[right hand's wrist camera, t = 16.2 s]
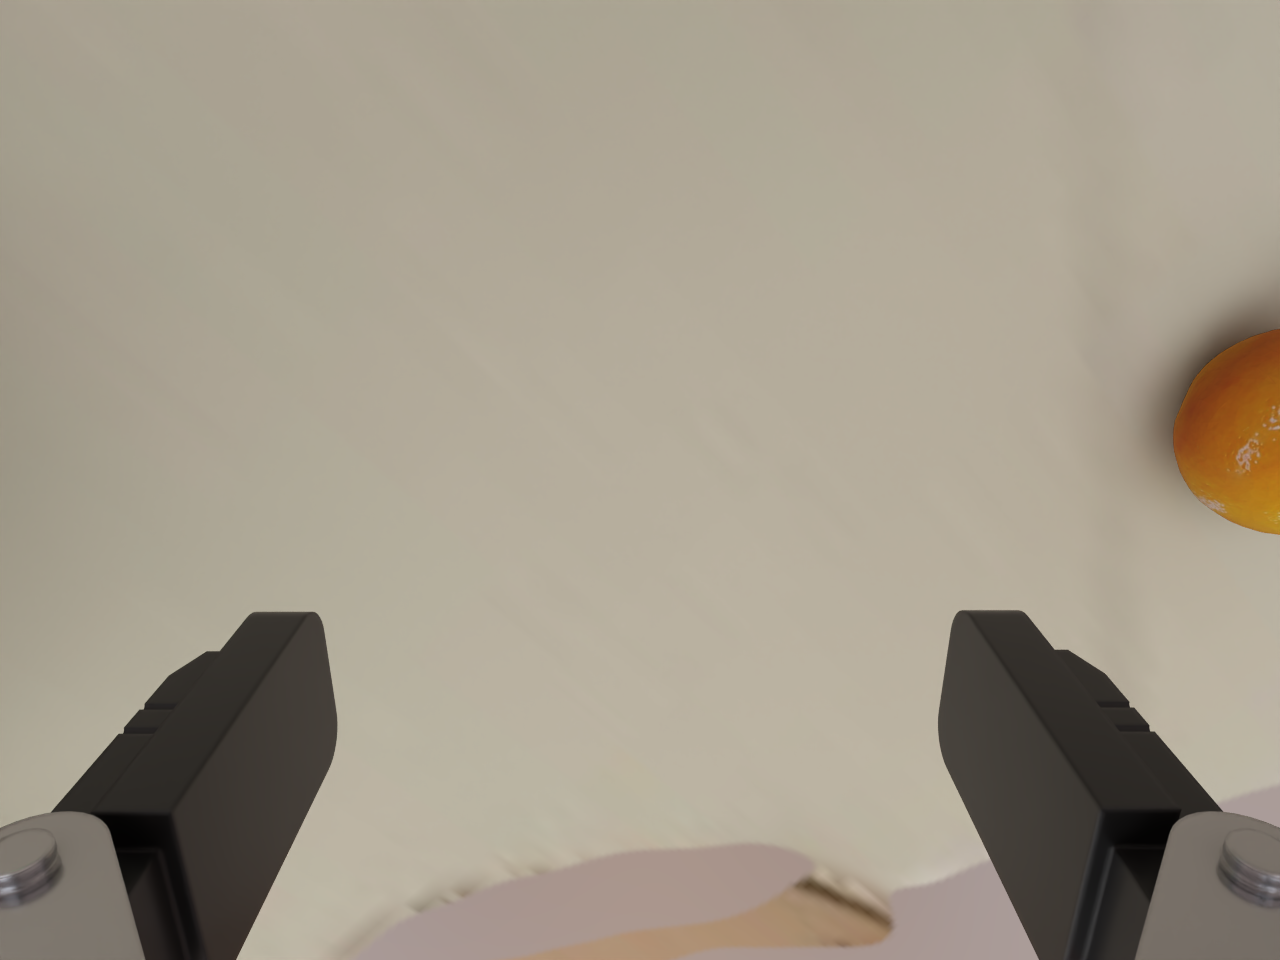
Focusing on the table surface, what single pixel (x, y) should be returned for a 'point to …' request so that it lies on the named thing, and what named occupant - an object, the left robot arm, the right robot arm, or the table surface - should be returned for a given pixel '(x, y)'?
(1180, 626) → the table surface
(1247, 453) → the fruit
